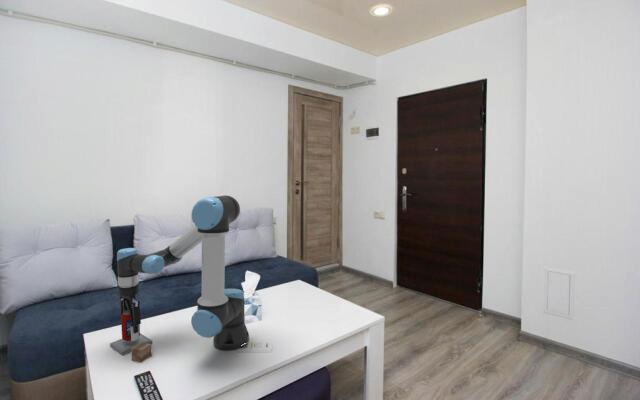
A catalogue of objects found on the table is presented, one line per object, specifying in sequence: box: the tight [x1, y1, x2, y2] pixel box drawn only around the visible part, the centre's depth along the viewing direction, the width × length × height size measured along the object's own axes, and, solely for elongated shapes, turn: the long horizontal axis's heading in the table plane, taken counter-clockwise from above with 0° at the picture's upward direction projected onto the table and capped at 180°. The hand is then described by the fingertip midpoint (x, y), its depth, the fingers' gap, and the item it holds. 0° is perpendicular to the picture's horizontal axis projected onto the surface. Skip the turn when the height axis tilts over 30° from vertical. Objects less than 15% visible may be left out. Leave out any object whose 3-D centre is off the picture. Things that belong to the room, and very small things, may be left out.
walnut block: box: [130, 342, 153, 363], centre depth 133 cm, size 5×5×5 cm
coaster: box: [109, 332, 153, 356], centre depth 143 cm, size 12×12×2 cm
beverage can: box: [120, 310, 141, 341], centre depth 143 cm, size 7×7×12 cm
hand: (131, 337), depth 143 cm, fingers closed on beverage can, 7 cm apart
